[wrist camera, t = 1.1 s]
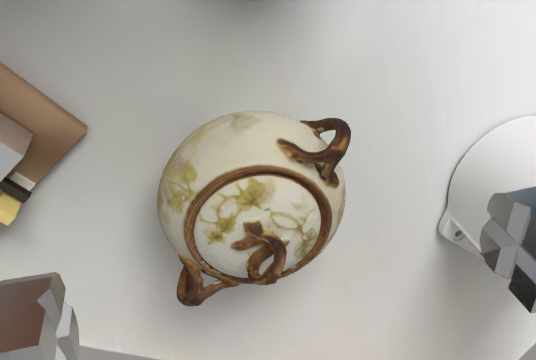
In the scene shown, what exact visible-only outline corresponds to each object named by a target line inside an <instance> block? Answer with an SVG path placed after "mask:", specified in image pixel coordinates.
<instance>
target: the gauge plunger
mask: <svg viewBox="0 0 536 360" xmlns="http://www.w3.org/2000/svg"><path fill="white" fill-rule="evenodd" d="M32 137H33V134H32V133H30V132H29V131H27V130H26V129H24V128H23V127H21V126H20V125H18V124H17V123H15V122H14V121H12V120H11V119H9V118H8V117H6V116H5V115H3V114H2V113H0V190H2V191H4V192H5V193H7V194H9V195H10V196H12V197H14V198H16V199H17V200H19V201H21V202H22V203H25V202H26V201H27V199H28V198H29V197H30V195H31V193H32V192H30V191H29V190H27V189H25V188H24V187H22V186H20V185H19V184H17V183H16V182H14V181H12V180H11V179H9V178H7V177H6V175H7V174H8V173H9V172H10V171H11V170H12V169H13V168H14V167H15V166H16V164H17V163H18V162H19V161H20V160H21V159H22V158H23V157H24V155H25V153H26V150H27V148H28V146H29V144H30V141H31V139H32Z"/></svg>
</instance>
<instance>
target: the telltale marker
mask: <svg viewBox="0 0 536 360" xmlns="http://www.w3.org/2000/svg"><path fill="white" fill-rule="evenodd" d="M20 205H21V201H19V200H17V199H16V198H14V197H12V196H10V195H9V194H7V193H5V192H4V191H2V190H1V191H0V222H2V223H3V224H5V225H7V226H8V225H9V224H10V223H11V222H12V221H13V220H14V219H15V217H16V215H17V212H18V210H19V207H20Z"/></svg>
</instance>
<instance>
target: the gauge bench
mask: <svg viewBox="0 0 536 360" xmlns="http://www.w3.org/2000/svg"><path fill="white" fill-rule="evenodd" d="M0 113H2V114H3V115H5V116H6V117H8V118H9V119H11V120H12V121H14V122H15V123H17V124H18V125H20V126H21V127H23V128H24V129H26V130H27V131H29V132H30V133H32V134H33V137H32V139H31V141H30V144H29V146H28V148H27V150H26V153H25V155H24V157H23V158H22V159H21V160H20V161H19V162H18V163H17V164H16V166H15V167H14V168H13V169H12V170H11V171H10V172H9V173H8V174H7V175H6V177H7V178H9V179H11V180H12V181H14V182H16V183H17V184H19V185H20V186H22V187H24V188H25V189H27V190H29V191H30V190H31V189H32V188H33V187H34V186H35V185H36V184H37V183H38V182H39V181H40V180H41V179H42V178H43V177H44V176H45V175H46V174H47V172H48V171H49V170H50V169H51V168H52V167H53V166H54V165H55V164H56V163H57V162H58V161H59V160H60V159H61V158H62V157H63V156H64V155H65V154H66V153H67V152H68V150H69V149H70V148H71V147H72V146H73V145H74V144H75V143H76V142H77V141H78V140H79V139H80V138H81V137H82V136H83V135H84V134H85V133H86V131H87V127H88V126H87V125H85V124H84V123H82V122H81V121H80V120H78V119H77V118H75V117H74V116H73V115H71V114H70V113H69V112H67V111H66V110H64V109H63V108H62V107H60V106H59V105H58V104H56V103H55V102H53V101H52V100H51V99H49V98H48V97H47V96H45V95H44V94H42V93H41V92H40V91H38V90H37V89H36V88H34V87H33V86H31V85H30V84H29V83H27V82H26V81H25V80H23V79H22V78H20V77H19V76H18V75H16V74H15V73H13V72H12V71H11V70H9V69H8V68H7V67H5V66H4V65H2V64H1V63H0ZM0 191H1V190H0Z"/></svg>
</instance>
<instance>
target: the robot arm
mask: <svg viewBox="0 0 536 360" xmlns="http://www.w3.org/2000/svg"><path fill="white" fill-rule="evenodd" d="M438 231H439V233H440V234H442V235H443V236H444V237H445V238H446V239H448V240H450V241H451V242H453V243H455V244H456V245H458V246H460V247H461V248H463V249H465V250H467V251H468V252H470V253H472V254H473V255H475V256H477V257H478V258H480V259H482V260H484V261H485V262H486V263H487V264H488V266H489V267H490V268H491V269H492V270H493V272H494V273H497V274H499V275H501V276H503V277H505V278H507V279H508V289H509V290H510V291H511V292H512V293H513V294H514V295H515V296H516V298H517V299H518V300H519V301H520V302H521V303H522V304H523V305H524V307H525V308H526V309H527V310H528V311H529V312H530V313H535V312H536V115H531V116H524V117H520V118H517V119H514V120H511V121H508V122H506V123H504V124H502V125H500V126H498V127H496V128H495V129H493V130H492V131H490V132H489V133H487V134H486V135H485V136H483V137H482V138H481V139H480V140H478V141H477V142H476V143H475V144H474V145H473V146H472V147H471V148H470V149H469V151H468V152H467V153H466V154H465V156H464V157H463V158H462V160H461V161H460V163H459V164H458V166H457V168H456V170H455V172H454V174H453V176H452V179H451V182H450V186H449V192H448V204H447V209H446V211H445V212H444V214H443V216H442V218H441V221H440V223H439V226H438ZM64 296H65V286H64V284H63V281H62V279H61V276H60V274H58V273H56V272H53V273H47V274H40V275H34V276H28V277H21V278H15V279H9V280H3V281H0V360H78V355H79V329H78V324H77V320H76V316H75V313H74V310H73V307H72V306H70V305H68V304H67V303H65V302H64Z"/></svg>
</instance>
